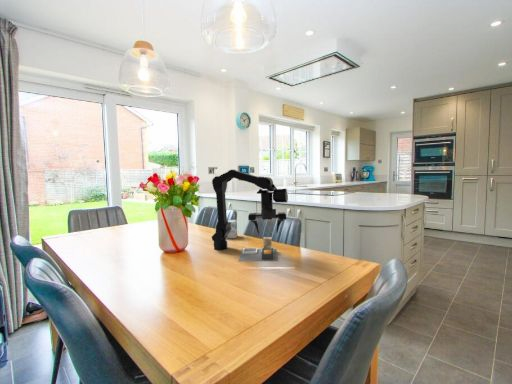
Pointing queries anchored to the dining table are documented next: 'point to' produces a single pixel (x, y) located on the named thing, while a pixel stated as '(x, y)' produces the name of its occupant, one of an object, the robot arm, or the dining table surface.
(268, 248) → the block
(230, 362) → the dining table surface
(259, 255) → the grey shape sorting board
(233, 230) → the light bulb box
